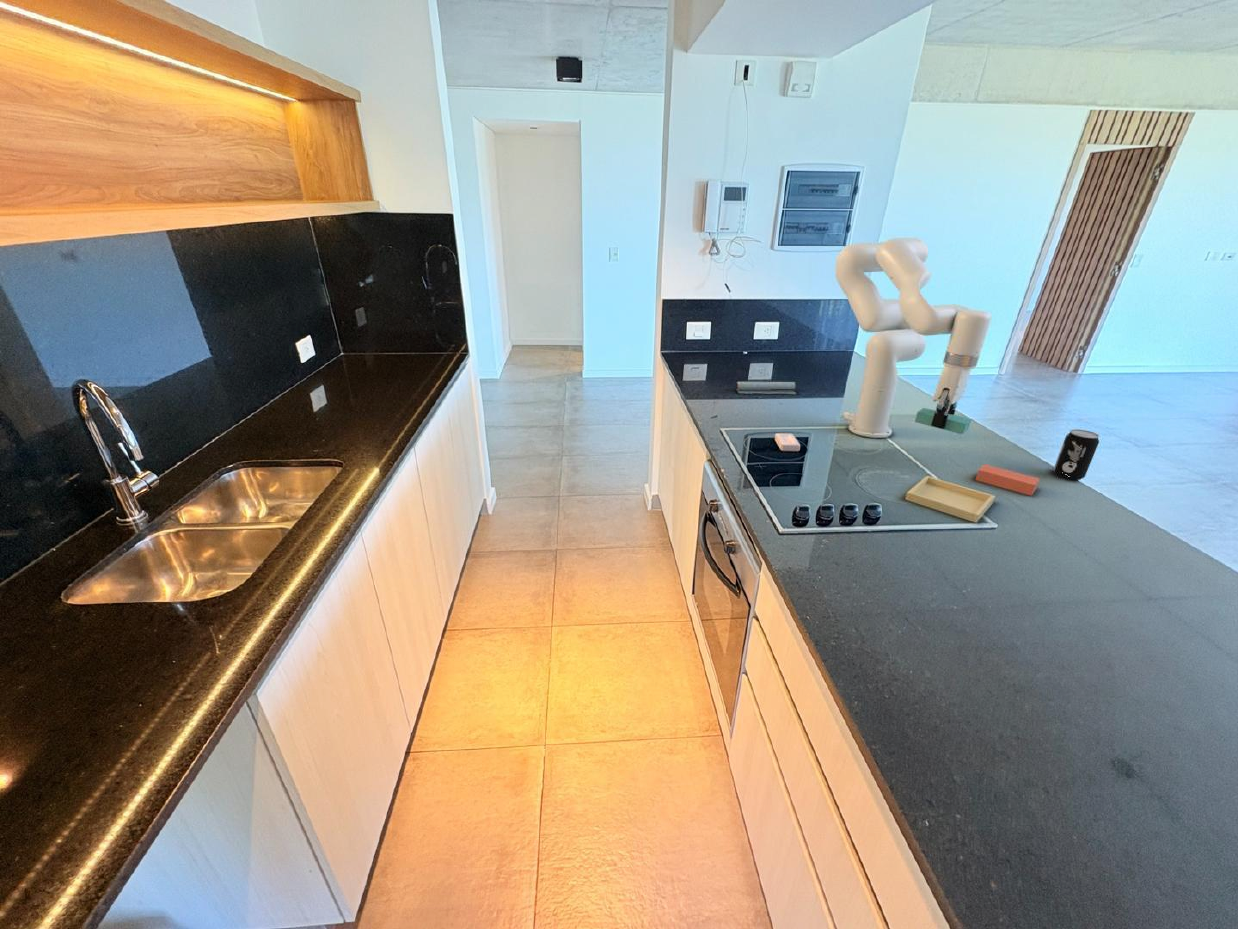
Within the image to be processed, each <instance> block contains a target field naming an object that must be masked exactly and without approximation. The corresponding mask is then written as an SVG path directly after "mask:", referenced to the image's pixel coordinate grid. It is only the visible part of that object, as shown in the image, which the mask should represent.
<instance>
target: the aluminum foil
mask: <svg viewBox="0 0 1238 929" xmlns="http://www.w3.org/2000/svg"><path fill="white" fill-rule="evenodd" d="M736 387H737V388H738V389H737V388H736ZM735 389H736V391H737V393H738V394H746V395H747V394H750V395H751V394H763V395H765V394H767V395H768V394H769V395H770V394H782V395H797V392H796V391H795V390H796V382H795V381H737V382H736V385H735ZM771 389H795V390H771Z"/></svg>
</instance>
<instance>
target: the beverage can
mask: <svg viewBox="0 0 1238 929" xmlns="http://www.w3.org/2000/svg"><path fill="white" fill-rule="evenodd" d="M1099 438H1100V434H1098V433H1096V432H1094V431H1090V430H1086V429H1077V428H1076V429H1071V430H1069V432H1068V433H1067V434H1066V435H1065V438H1064V440H1063V443H1062V445H1061V448H1060V450H1059V453H1058V457H1057V458H1056V461H1055V463H1054V467H1055V468H1054V467H1053V470H1052V472H1054V475H1056V476H1058V477H1059V478H1062V479H1066V480H1069V481H1080V480H1083V479H1084V478H1085V477H1086V476H1087V473H1088V470H1089V468H1090V466H1091V463H1092V460H1093V458H1094V456H1095V453H1096V452H1097V449H1098V447H1099V443H1100V440H1099ZM1062 472H1063V473H1062ZM1065 474H1067V475H1068V476H1070V477H1068V476H1067V475H1065Z"/></svg>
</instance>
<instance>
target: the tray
mask: <svg viewBox="0 0 1238 929" xmlns="http://www.w3.org/2000/svg"><path fill="white" fill-rule="evenodd" d="M995 497H996V496H995V495H994V494H990V493H987V492H983V491H981V490H976V489H973V488H970V487H966V486H963V485H959V484H956V483H954V482H953V483H952V482H949V481H946V480H942V479H939V478H935V477H932V476H929V475H926V476H924V478H922V479H921V480H920V481H918V482H917V483H916V484H915V485H914V486H913V487H912V488H911V489H909V490H908V491H907V492H906V494H905V499H904V500H906V501H908V502H912V503H914V504H918V505H921V506H924V507H927V508H930V509H933V510H935V511H939V512H942V513H945V514H948V515H950V516H953V517H957V518H959V519H963V520H966V521H969V522H972V523H975V524H976V523H978V521H979V520H980V519H981V518H982V517H983V515H985V513H986V512H987V511H988V510H989V508H990V507H991V506H992V505H993V503H994V501H995Z"/></svg>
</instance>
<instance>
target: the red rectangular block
mask: <svg viewBox="0 0 1238 929" xmlns="http://www.w3.org/2000/svg"><path fill="white" fill-rule="evenodd" d="M975 477H976V478H975V481H977V482H979V483H980V482H981V483H985V484H988V485H991V486H993V487H994V486H995V487H998V488H1002V489H1006V490H1009V491H1013V492H1016V493H1020V494H1023V495H1025V496H1029V497H1030V496H1031V497H1032V496H1033V495H1034V493H1035V491H1036V490H1037V487H1038V485H1039V482H1040V478H1038V477H1036V476H1035V477H1034V476H1030V475H1027V474H1023V473H1020V472H1015V471H1011V470H1007V469H1004V468H1000V467H995V466H992V465H988V464H983V465H982V466H981V467H980V468H979V469H978V471H977V474H976V476H975Z"/></svg>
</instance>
